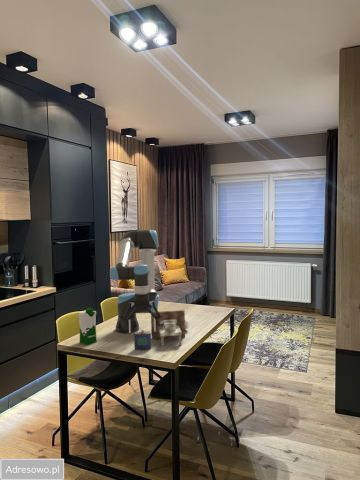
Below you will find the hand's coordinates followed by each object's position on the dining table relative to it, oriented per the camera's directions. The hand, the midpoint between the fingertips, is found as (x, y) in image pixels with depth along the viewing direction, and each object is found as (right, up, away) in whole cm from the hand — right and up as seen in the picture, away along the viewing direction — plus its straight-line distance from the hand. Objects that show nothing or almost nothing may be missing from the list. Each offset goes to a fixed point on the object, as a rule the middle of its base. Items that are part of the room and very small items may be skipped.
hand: (142, 331), depth 200 cm
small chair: (+15, -9, +12) cm, 21 cm away
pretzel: (+21, -8, +32) cm, 39 cm away
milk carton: (-33, -10, +14) cm, 37 cm away
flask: (0, -10, +1) cm, 10 cm away
